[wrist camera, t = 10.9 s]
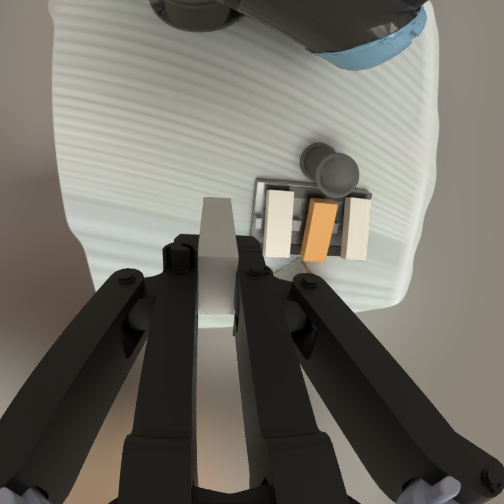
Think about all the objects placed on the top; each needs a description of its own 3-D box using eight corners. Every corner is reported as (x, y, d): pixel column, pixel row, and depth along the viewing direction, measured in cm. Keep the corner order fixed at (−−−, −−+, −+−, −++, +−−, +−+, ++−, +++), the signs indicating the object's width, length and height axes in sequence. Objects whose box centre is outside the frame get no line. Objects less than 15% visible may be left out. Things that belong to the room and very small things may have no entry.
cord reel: (302, 140, 41) (320, 150, 34) (339, 146, 42) (362, 157, 35) (297, 178, 44) (312, 195, 37) (333, 182, 45) (354, 200, 38)
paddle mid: (310, 197, 41) (314, 202, 39) (332, 199, 42) (337, 204, 40) (300, 254, 45) (303, 261, 44) (321, 255, 46) (325, 261, 44)
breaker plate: (256, 178, 43) (259, 185, 40) (366, 189, 46) (376, 197, 42) (248, 246, 48) (251, 258, 45) (351, 250, 51) (359, 261, 48)
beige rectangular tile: (345, 197, 43) (350, 197, 41) (364, 199, 44) (370, 199, 42) (340, 257, 45) (345, 259, 43) (359, 257, 45) (365, 260, 43)
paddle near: (266, 190, 42) (269, 189, 40) (290, 192, 42) (294, 191, 40) (262, 254, 43) (265, 256, 41) (286, 255, 44) (289, 257, 42)
